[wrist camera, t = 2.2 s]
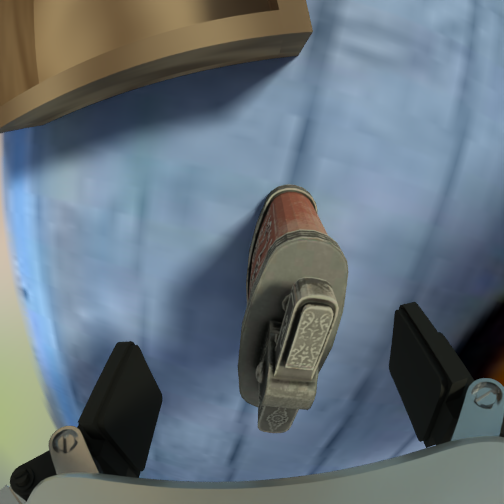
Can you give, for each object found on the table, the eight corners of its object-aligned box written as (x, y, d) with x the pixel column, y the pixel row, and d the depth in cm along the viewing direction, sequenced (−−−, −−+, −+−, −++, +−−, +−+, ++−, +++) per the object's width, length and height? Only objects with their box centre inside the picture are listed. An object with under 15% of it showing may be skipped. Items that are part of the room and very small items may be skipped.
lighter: (292, 317, 20) (307, 458, 11) (238, 309, 20) (221, 451, 10) (326, 191, 16) (396, 289, 7) (262, 178, 16) (261, 267, 7)
